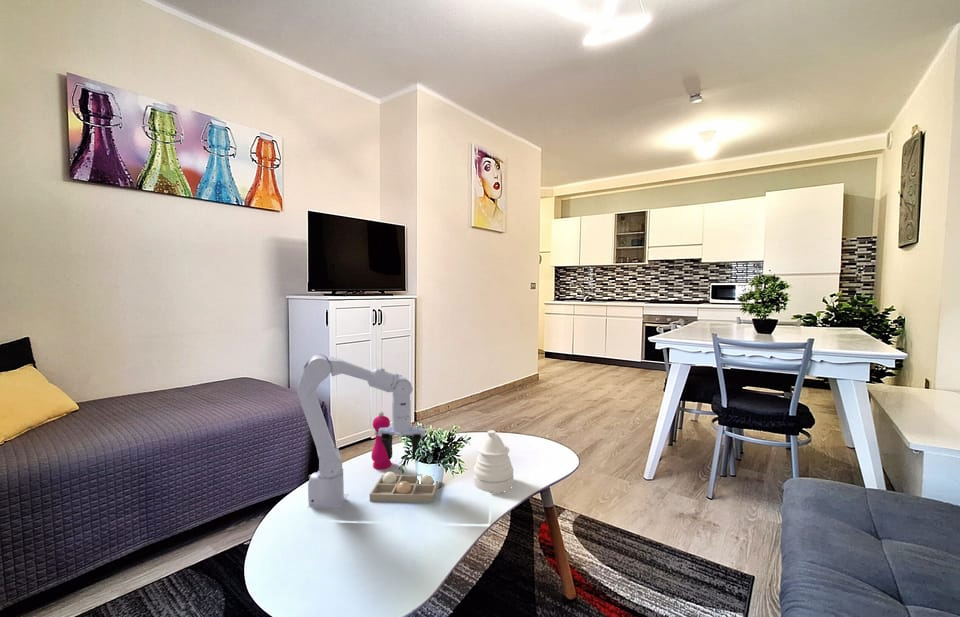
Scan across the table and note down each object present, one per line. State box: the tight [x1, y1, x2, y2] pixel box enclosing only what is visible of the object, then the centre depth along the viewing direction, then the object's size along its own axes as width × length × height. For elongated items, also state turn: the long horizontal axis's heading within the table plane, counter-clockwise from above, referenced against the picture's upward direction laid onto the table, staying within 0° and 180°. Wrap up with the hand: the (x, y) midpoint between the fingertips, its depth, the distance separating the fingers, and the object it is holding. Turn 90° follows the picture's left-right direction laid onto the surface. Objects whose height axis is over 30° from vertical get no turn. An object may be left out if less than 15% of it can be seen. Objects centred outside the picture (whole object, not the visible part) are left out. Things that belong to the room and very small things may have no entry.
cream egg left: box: [383, 471, 397, 484], centre depth 133 cm, size 4×4×4 cm
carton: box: [369, 474, 439, 503], centre depth 130 cm, size 19×13×3 cm
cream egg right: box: [421, 474, 434, 485], centre depth 132 cm, size 4×4×4 cm
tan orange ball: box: [396, 481, 411, 494], centre depth 126 cm, size 4×4×4 cm
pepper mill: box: [370, 411, 393, 471], centre depth 148 cm, size 7×7×20 cm
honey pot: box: [473, 429, 514, 494], centre depth 135 cm, size 13×13×18 cm
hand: (402, 457), depth 131 cm, fingers open, 7 cm apart
